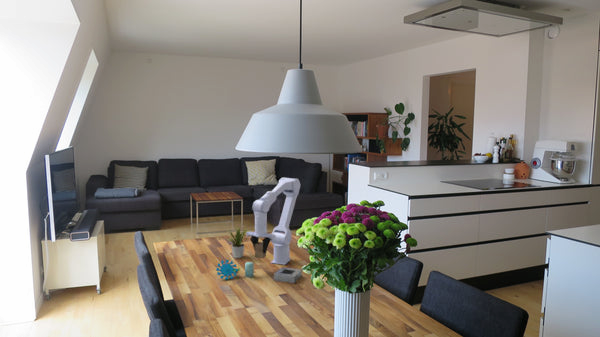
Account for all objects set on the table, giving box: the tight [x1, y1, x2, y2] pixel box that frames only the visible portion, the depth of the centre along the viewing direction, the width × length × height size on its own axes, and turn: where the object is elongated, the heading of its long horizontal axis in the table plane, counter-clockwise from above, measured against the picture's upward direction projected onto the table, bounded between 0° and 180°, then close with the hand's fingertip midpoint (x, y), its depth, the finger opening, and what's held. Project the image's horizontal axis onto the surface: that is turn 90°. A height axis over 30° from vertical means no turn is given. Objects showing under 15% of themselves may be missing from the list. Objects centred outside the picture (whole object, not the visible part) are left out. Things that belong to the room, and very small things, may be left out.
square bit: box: [254, 241, 267, 259], centre depth 211 cm, size 4×4×6 cm
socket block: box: [273, 266, 303, 284], centre depth 204 cm, size 10×10×3 cm
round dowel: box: [244, 261, 255, 278], centre depth 206 cm, size 4×4×6 cm
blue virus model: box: [215, 259, 241, 281], centre depth 204 cm, size 11×6×10 cm
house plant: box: [227, 226, 251, 259], centre depth 232 cm, size 14×14×16 cm
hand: (260, 252), depth 212 cm, fingers closed on square bit, 4 cm apart
